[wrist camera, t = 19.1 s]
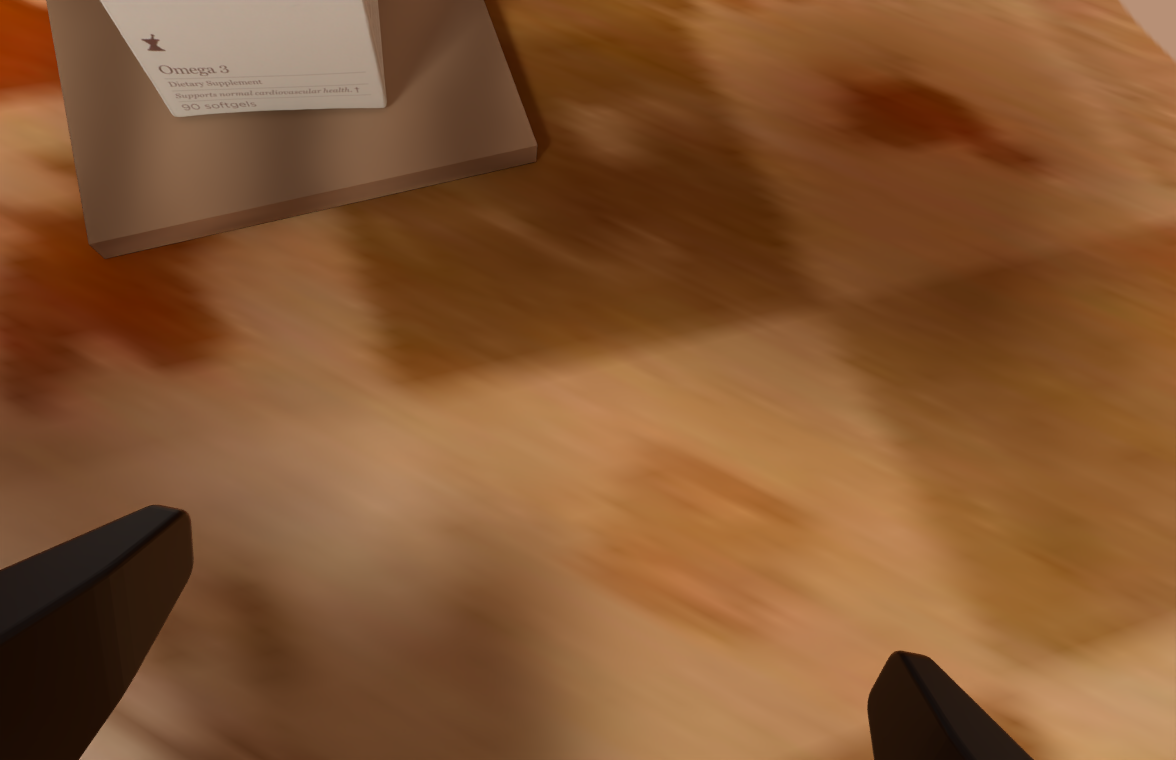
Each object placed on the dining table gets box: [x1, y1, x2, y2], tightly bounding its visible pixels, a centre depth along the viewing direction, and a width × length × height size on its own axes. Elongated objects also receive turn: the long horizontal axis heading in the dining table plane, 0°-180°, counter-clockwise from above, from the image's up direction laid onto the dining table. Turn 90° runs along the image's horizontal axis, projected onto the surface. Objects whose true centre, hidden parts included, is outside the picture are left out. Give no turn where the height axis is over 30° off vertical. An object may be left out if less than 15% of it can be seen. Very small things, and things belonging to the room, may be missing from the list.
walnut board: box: [46, 0, 538, 259], centre depth 27 cm, size 15×15×1 cm
